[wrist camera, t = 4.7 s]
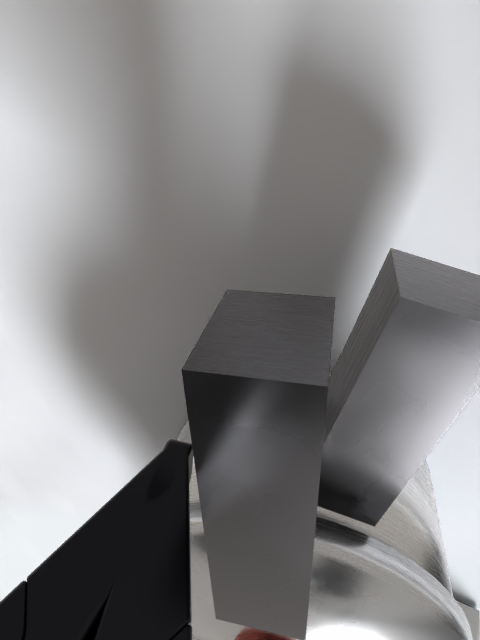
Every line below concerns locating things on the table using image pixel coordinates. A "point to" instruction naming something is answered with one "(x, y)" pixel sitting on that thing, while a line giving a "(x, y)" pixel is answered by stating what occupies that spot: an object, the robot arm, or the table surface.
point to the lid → (285, 493)
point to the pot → (397, 405)
